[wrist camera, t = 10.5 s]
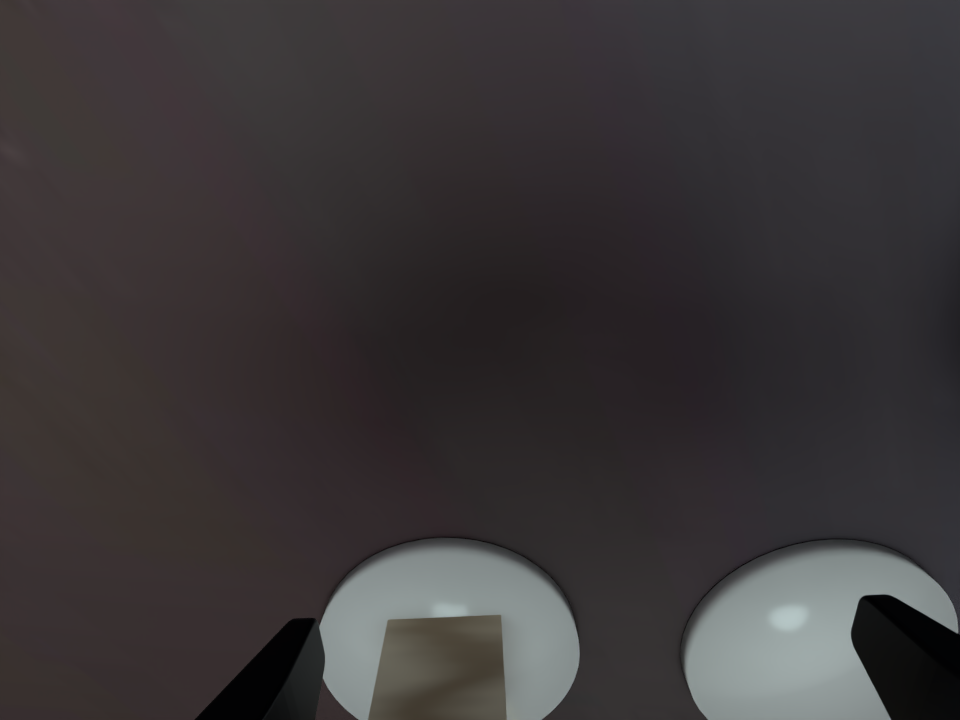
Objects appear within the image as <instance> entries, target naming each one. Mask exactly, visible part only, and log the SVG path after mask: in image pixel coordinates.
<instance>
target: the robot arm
mask: <svg viewBox="0 0 960 720" xmlns="http://www.w3.org/2000/svg"><path fill="white" fill-rule="evenodd" d="M851 640H852V644H853V647H854V649H855V651H856V653H857V655H858V657H859V659H860V661H861V663H862V664H863V666H864V668H865V670H866V672H867V674H868V676H869V678H870V680H871V682H872V684H873V686H874V688H875V690H876V692H877V693H878V695H879V697H880V699H881V701H882V703H883V705H884V707H885V709H886V711H887V713H888V715H889V717H890V719H891V720H960V635H959V634H957V633H956V632H954V631H952V630H951V629H949V628H947V627H945V626H944V625H942V624H940V623H939V622H937V621H935V620H933V619H932V618H930V617H928V616H926V615H925V614H923V613H921V612H920V611H918V610H916V609H914V608H913V607H911V606H909V605H908V604H906V603H904V602H902V601H901V600H899V599H897V598H895V597H893V596H891V595H886V594H880V595H865V596H863V597H861V598H860V600H859V602H858V606H857V609H856V613H855V617H854V621H853V624H852V628H851ZM324 667H325V652H324V647H323V642H322V638H321V633H320V629H319V624H318V622H317V620H316V619H315V618H296V619H292V620H290V621H289V622H288V623H287V624H286V625H285V626H284V627H283V628H282V629H281V630H280V631H279V632H278V633H277V634H276V635H275V636H274V637H273V638H272V639H271V640H270V641H269V642H268V643H267V645H266V646H265V647H264V648H263V649H262V650H261V651H260V652H259V653H258V654H257V655H256V656H255V657H254V658H253V659H252V660H251V661H250V662H249V663H248V664H247V665H246V666H245V668H244V669H243V670H242V671H241V672H240V673H239V674H238V675H237V676H236V677H235V678H234V679H233V680H232V681H231V682H230V683H229V684H228V685H227V686H226V687H225V688H224V689H223V690H222V692H221V693H220V694H219V695H218V696H217V697H216V698H215V699H214V700H213V701H212V702H211V703H210V704H209V705H208V706H207V707H206V708H205V709H204V710H203V711H202V712H201V713H200V714H199V716H198V717H197V718H196V719H195V720H315V716H316V711H317V705H318V700H319V695H320V689H321V684H322V679H323V673H324Z"/></svg>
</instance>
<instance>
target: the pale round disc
mask: <svg viewBox="0 0 960 720" xmlns="http://www.w3.org/2000/svg"><path fill="white" fill-rule="evenodd" d="M483 615H501V623H502V640H503V658H504V675H505V693H506V714H507V720H542V719H543V718H544V717H545V716H546V715H548V714H549V713H550V712H551V711H553V710H554V708H555V707H556V706H557V705H558V704H559V703H560V702H561V701H562V700H563V698H564V697H565V695H566V694H567V692H568V691H569V689H570V687H571V685H572V683H573V681H574V679H575V676H576V673H577V669H578V665H579V656H580V651H579V640H578V635H577V630H576V625H575V620H574V616H573V612H572V609H571V607H570V605H569V603H568V600H567V598H566V597H565V595H564V593H563V592H562V590H561V589H560V587H559V586H558V585H557V584H556V583H555V582H554V580H553V579H552V578H551V577H550V576H549V575H548V574H547V573H546V572H544V571H543V570H542V569H541V568H540V567H538V566H537V565H536V564H534V563H532V562H531V561H529V560H528V559H526V558H525V557H523V556H521V555H519V554H517V553H515V552H513V551H510V550H508V549H505V548H502V547H500V546H497V545H494V544H490V543H486V542H481V541H477V540H470V539H462V538H432V539H422V540H417V541H412V542H407V543H403V544H400V545H397V546H394V547H391V548H388V549H386V550H383V551H381V552H379V553H377V554H375V555H373V556H371V557H370V558H368V559H366V560H365V561H363V562H362V563H360V564H359V565H358V566H356V567H355V568H354V569H353V570H352V571H350V572H349V573H348V574H347V575H346V576H345V577H344V579H343V580H342V581H341V582H340V583H339V584H338V586H337V587H336V589H335V590H334V592H333V594H332V595H331V597H330V599H329V602H328V604H327V607H326V609H325V612H324V615H323V618H322V621H321V624H320V627H319V629H320V633H321V638H322V642H323V647H324V652H325V667H324V673H323V679H324V681H325V683H326V685H327V687H328V689H329V690H330V691H331V693H332V694H333V696H334V697H335V699H336V700H337V701H338V702H339V703H340V704H341V705H342V706H343V707H344V708H345V709H346V710H347V711H349V712H350V713H351V714H352V715H353V716H355V717H356V718H357V719H359V720H368V717H369V712H370V707H371V702H372V697H373V692H374V687H375V682H376V677H377V672H378V667H379V661H380V656H381V651H382V646H383V641H384V636H385V631H386V626H387V621H388V620H391V619H414V618H437V617H460V616H483Z"/></svg>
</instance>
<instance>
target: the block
mask: <svg viewBox="0 0 960 720" xmlns="http://www.w3.org/2000/svg"><path fill="white" fill-rule="evenodd" d="M368 720H507V714H506V693H505V675H504V658H503V640H502V623H501V615H483V616H460V617H437V618H414V619H391V620H388V621H387V626H386V631H385V636H384V641H383V646H382V651H381V656H380V661H379V667H378V672H377V677H376V682H375V687H374V692H373V697H372V702H371V707H370V712H369V717H368Z"/></svg>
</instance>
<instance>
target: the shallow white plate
mask: <svg viewBox="0 0 960 720" xmlns="http://www.w3.org/2000/svg"><path fill="white" fill-rule="evenodd" d="M880 594H886V595H891V596H893V597H895V598H897V599H899V600H901V601H902V602H904V603H906V604H908V605H909V606H911V607H913V608H914V609H916V610H918V611H920V612H921V613H923V614H925V615H926V616H928V617H930V618H932V619H933V620H935V621H937V622H939V623H940V624H942V625H944V626H945V627H947V628H949V629H951V630H952V631H954V632H956V633H957V634H958V623H957V616H956V613H955V610H954V606H953V604H952V602H951V601H950V599H949V597H948V595H947V594H946V593H945V591H944V590H943V589H942V588H941V587H940V586H939V584H938V583H937V582H935V581H934V580H933V579H932V578H931V577H930V576H929V575H928V574H927V573H926V572H925V571H924V570H923V569H922V568H921V567H919V566H918V565H917V564H916V563H914V562H913V561H912V560H911V559H910V558H908V557H906V556H904V555H903V554H901V553H899V552H897V551H895V550H892V549H890V548H887V547H885V546H882V545H878V544H874V543H870V542H865V541H857V540H844V539H830V540H819V541H811V542H805V543H800V544H795V545H791V546H788V547H785V548H781V549H778V550H775V551H773V552H770V553H768V554H765V555H763V556H760V557H758V558H756V559H754V560H752V561H750V562H748V563H747V564H745V565H743V566H741V567H740V568H738V569H737V570H735V571H734V572H732V573H731V574H729V575H728V576H726V577H725V578H724V579H723V580H722V581H720V582H719V583H718V584H717V585H715V586H714V587H713V588H712V589H711V591H710V592H709V593H708V594H707V595H706V596H705V597H704V598H703V599H702V600H701V602H700V603H699V604H698V606H697V607H696V608H695V610H694V612H693V613H692V615H691V617H690V619H689V621H688V623H687V625H686V628H685V631H684V633H683V637H682V642H681V654H680V659H681V665H682V670H683V673H684V676H685V679H686V681H687V684H688V686H689V689H690V691H691V694H692V697H693V699H694V701H695V703H696V704H697V706H698V708H699V709H700V711H701V712H702V713H703V714H704V715H705V717H706V718H707V719H708V720H891V719H890V717H889V715H888V713H887V711H886V709H885V707H884V705H883V703H882V701H881V699H880V697H879V695H878V693H877V692H876V690H875V688H874V686H873V684H872V682H871V680H870V678H869V676H868V674H867V672H866V670H865V668H864V666H863V664H862V663H861V661H860V659H859V657H858V655H857V653H856V651H855V649H854V647H853V644H852V640H851V628H852V624H853V621H854V617H855V613H856V609H857V606H858V602H859V600H860V598H861V597H863V596H865V595H880Z"/></svg>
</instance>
